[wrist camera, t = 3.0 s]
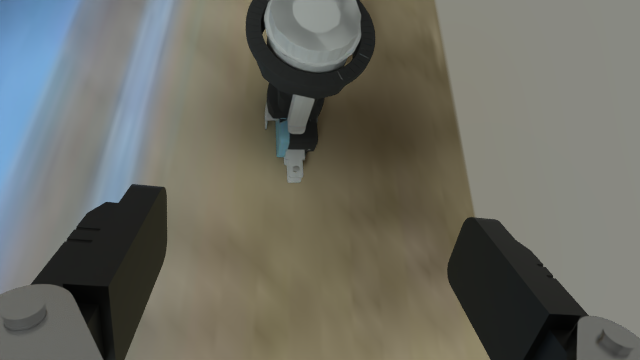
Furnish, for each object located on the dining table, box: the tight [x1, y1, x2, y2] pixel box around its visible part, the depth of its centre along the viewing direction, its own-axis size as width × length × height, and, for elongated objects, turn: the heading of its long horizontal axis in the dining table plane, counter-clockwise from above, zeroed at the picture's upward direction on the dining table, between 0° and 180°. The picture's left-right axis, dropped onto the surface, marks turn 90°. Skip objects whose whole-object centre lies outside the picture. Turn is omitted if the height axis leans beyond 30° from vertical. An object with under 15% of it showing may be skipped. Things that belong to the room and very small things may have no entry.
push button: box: [246, 0, 375, 183], centre depth 20 cm, size 7×5×10 cm
